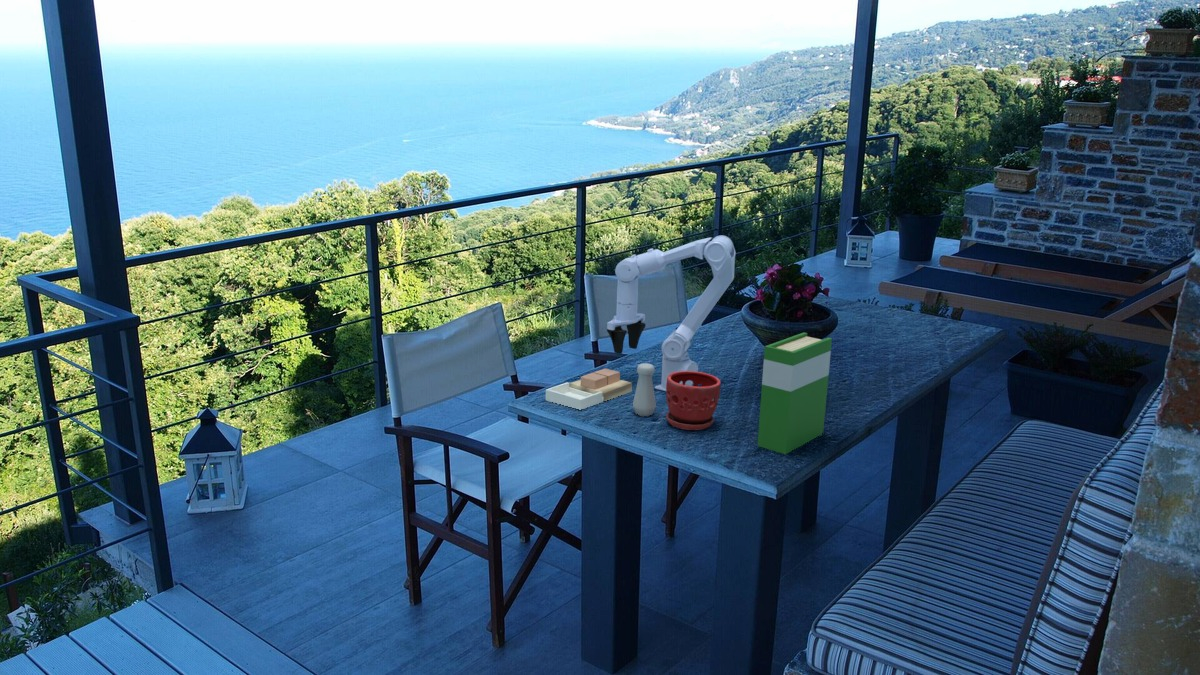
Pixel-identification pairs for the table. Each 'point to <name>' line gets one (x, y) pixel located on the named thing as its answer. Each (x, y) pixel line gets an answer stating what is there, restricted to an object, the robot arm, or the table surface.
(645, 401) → the salt shaker
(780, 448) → the hardback book
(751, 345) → the table surface
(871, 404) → the table surface
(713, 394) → the plant pot
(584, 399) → the box
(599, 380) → the tile front
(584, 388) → the board
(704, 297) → the robot arm
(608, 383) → the tile rear
